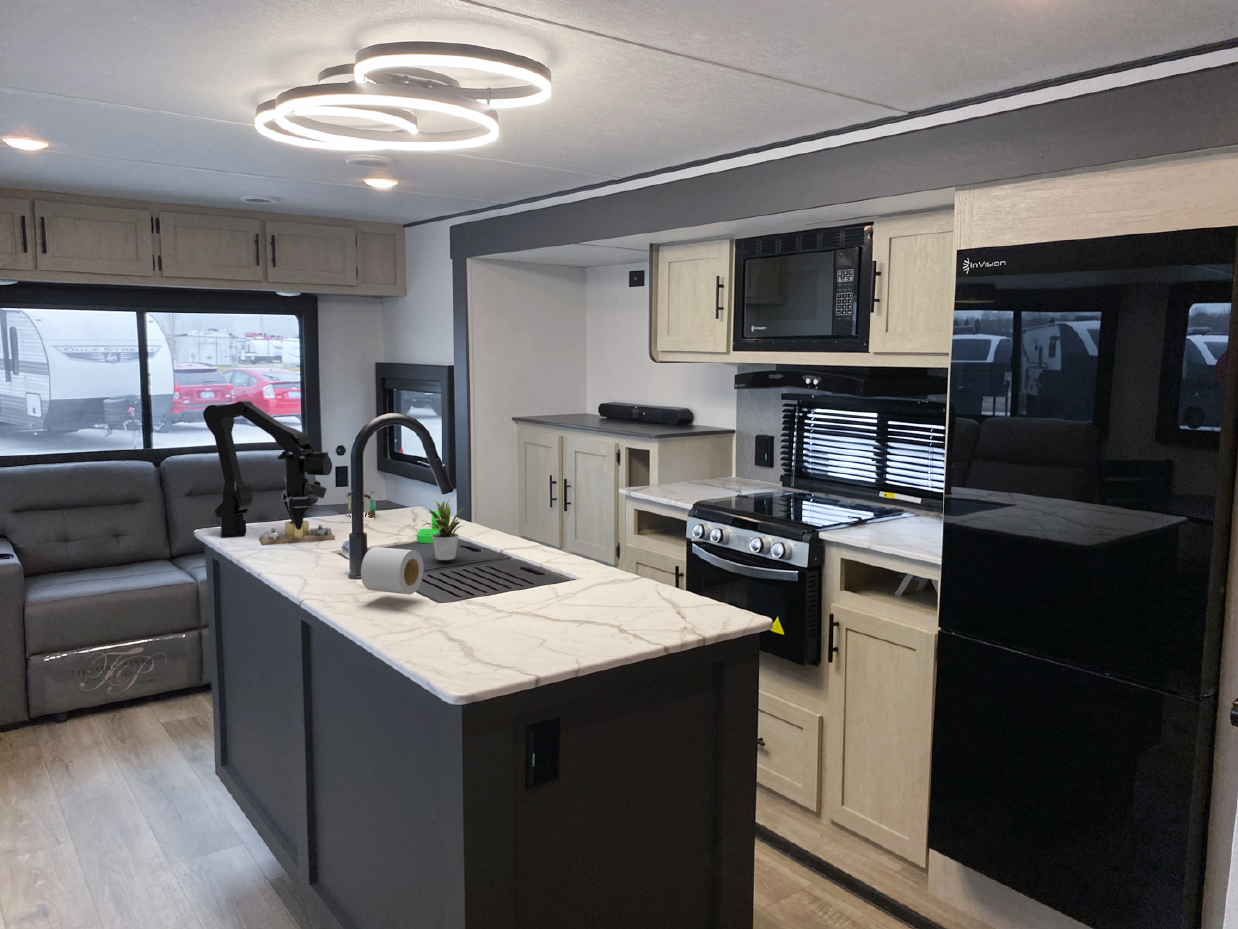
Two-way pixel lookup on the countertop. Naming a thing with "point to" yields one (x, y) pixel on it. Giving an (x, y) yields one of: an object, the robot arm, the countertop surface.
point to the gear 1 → (273, 534)
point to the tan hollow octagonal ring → (292, 530)
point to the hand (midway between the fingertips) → (297, 526)
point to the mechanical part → (428, 532)
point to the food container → (366, 502)
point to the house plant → (444, 533)
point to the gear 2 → (320, 531)
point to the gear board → (296, 539)
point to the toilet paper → (392, 570)
